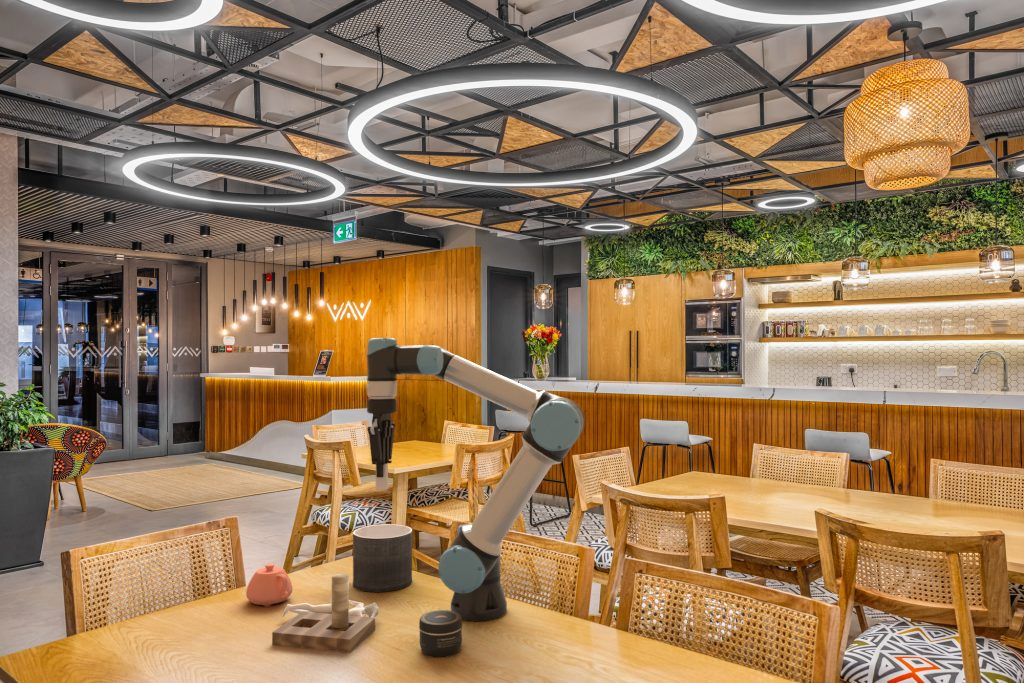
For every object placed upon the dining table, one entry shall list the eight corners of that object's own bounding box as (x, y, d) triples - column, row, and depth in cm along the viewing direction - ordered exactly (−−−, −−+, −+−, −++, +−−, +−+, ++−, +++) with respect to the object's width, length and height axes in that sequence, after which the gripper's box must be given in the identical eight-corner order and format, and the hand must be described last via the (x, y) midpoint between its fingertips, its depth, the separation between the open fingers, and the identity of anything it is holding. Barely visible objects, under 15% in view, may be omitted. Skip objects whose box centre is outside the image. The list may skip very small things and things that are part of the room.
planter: (343, 591, 204) (343, 537, 204) (365, 573, 221) (365, 523, 222) (401, 594, 201) (401, 539, 201) (419, 575, 218) (419, 525, 219)
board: (375, 629, 174) (375, 617, 174) (349, 652, 160) (350, 639, 160) (302, 623, 178) (302, 611, 178) (272, 645, 165) (272, 632, 165)
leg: (351, 636, 170) (351, 574, 170) (344, 642, 166) (344, 579, 166) (336, 634, 171) (336, 573, 171) (328, 641, 167) (328, 578, 167)
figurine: (284, 628, 181) (377, 632, 178) (277, 621, 177) (372, 625, 174) (292, 599, 186) (383, 603, 183) (285, 592, 181) (378, 595, 179)
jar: (414, 645, 164) (414, 613, 165) (454, 638, 168) (454, 607, 168) (426, 662, 155) (426, 627, 155) (468, 654, 159) (468, 621, 159)
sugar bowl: (274, 591, 204) (275, 556, 204) (305, 600, 196) (305, 564, 196) (237, 603, 194) (237, 566, 194) (267, 613, 186) (267, 574, 186)
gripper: (378, 396, 187) (378, 484, 186) (357, 398, 174) (357, 493, 173) (404, 396, 185) (404, 485, 184) (385, 399, 172) (385, 494, 172)
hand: (381, 489), depth 179 cm, fingers closed
